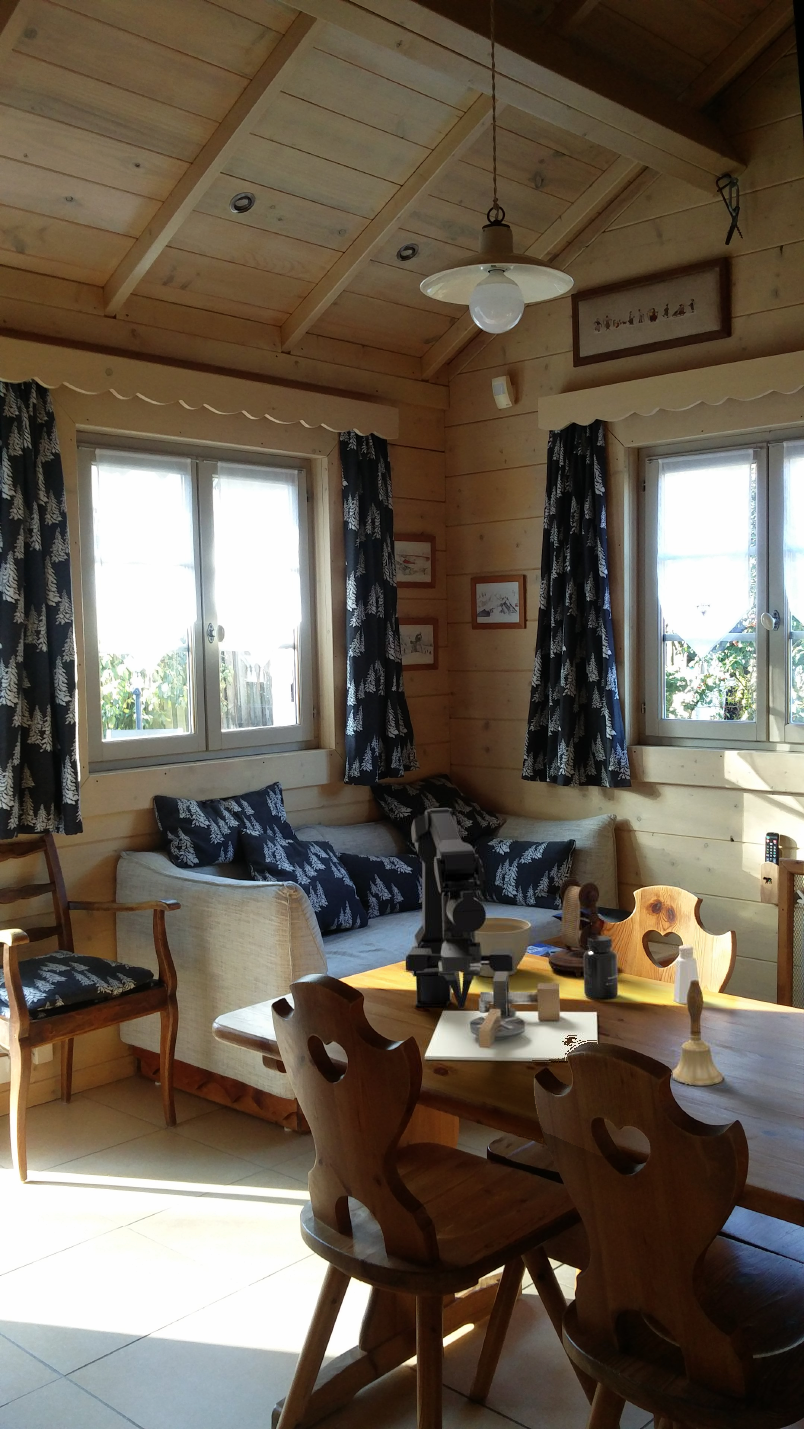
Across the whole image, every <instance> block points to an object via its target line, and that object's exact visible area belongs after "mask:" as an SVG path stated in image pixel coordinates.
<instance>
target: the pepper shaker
mask: <svg viewBox="0 0 804 1429" xmlns="http://www.w3.org/2000/svg"><path fill="white" fill-rule="evenodd" d="M678 950H679V953H678V954H679V957H678V958H677V959H676V965H675V966H676V967H675V979H674V990H673V991H674V992H673V1002H676V1003H677V1004H679V1005H681V1004H682V1005H687V993H688V990H689V987H690V982H691V980H697V981H699V982H700V980H699V974H698V973H699V972H698V965H697V960H696V958H694V946H692V945H688V944H683V945H679V947H678Z"/></svg>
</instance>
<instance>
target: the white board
mask: <svg viewBox="0 0 804 1429" xmlns="http://www.w3.org/2000/svg"><path fill="white" fill-rule="evenodd" d="M488 1013H489V1012H488ZM488 1013H480V1012H479V1010H443V1011H442V1013H441V1016H440V1018H439V1021H438V1022H437V1025H436V1027H435V1030H434V1032H433V1035H432V1037H431V1040H430V1043H429V1045H428V1047H427V1049H426V1052H425V1054H424V1060H434V1061H436V1060H444V1061H451V1060H452V1061H499V1062H500V1061H501V1062H503V1061H505V1062H506V1061H507V1062H508V1061H509V1062H511V1061H512V1062H513V1061H514V1062H533V1061H532V1060H549V1059H558V1058H559V1059H562V1058H564V1057H565V1061H566V1057H567V1054H568V1053H569V1052H571V1051H572V1050H574V1048H576V1047H578V1046H579V1045H581V1044H584V1043H587V1042H597V1043H598V1016H597V1015H598V1012H597V1011H560V1020H538V1011H517V1010H515V1014H514V1017H518V1018H520V1019H522V1020H523V1021H524V1022H525V1031H524V1032H523V1033H522V1034H520V1035H517V1036H513V1037H508V1038H494V1040H493V1042H492V1044H491V1046H490V1048H479V1036H477V1035H474V1034H473V1033H471V1031H470V1022H471V1021H472V1020H473V1019H476V1018H478V1017H482V1016H487V1015H488ZM568 1035H577V1036H568ZM567 1036H568V1037H567ZM569 1037H575V1038H577V1039H576V1040H575V1039H572V1041H573V1042H576V1043H570V1044H569V1045H571V1044H572V1046H569V1045H568V1046H567V1045H564V1042H565V1041H567V1039H565V1038H569ZM579 1040H581V1041H579ZM587 1040H597V1041H587ZM562 1041H564V1042H562ZM577 1041H578V1042H577ZM582 1041H586V1042H582ZM580 1042H582V1043H580ZM578 1043H580V1044H578ZM566 1044H567V1043H566ZM574 1045H576V1046H574ZM573 1046H574V1047H573ZM571 1047H573V1048H572V1049H571V1050H570V1048H571ZM568 1050H569V1052H567V1051H568ZM565 1053H567V1054H566V1055H565Z"/></svg>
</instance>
